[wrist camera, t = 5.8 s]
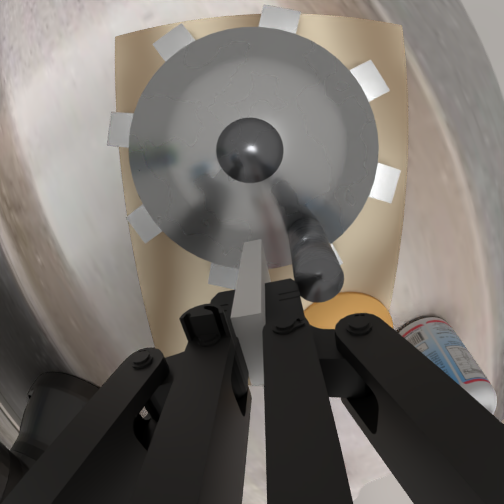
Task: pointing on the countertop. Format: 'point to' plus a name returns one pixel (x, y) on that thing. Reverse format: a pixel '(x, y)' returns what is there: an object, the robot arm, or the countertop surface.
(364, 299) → the seat pad
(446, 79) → the countertop surface
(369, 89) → the sprocket disc
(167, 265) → the board
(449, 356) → the pill bottle
